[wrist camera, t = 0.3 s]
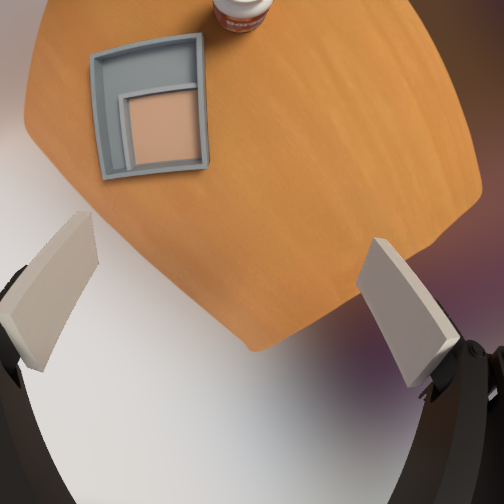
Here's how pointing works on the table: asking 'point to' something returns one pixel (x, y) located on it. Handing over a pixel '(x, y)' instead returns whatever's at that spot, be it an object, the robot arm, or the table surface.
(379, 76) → the table surface
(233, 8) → the pill bottle
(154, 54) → the walled box
